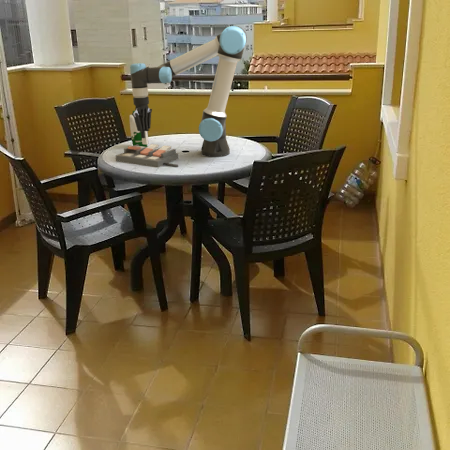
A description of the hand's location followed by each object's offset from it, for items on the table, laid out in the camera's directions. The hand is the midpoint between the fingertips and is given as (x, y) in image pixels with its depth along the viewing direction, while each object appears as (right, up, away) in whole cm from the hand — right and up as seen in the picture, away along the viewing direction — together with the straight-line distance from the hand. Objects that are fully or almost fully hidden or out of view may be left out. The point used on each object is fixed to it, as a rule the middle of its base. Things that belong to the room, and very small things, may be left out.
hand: (145, 143), depth 268 cm
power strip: (+4, -8, +2) cm, 9 cm away
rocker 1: (-5, -1, +8) cm, 10 cm away
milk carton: (-8, +2, +30) cm, 31 cm away
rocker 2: (+8, -4, 0) cm, 9 cm away
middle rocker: (+2, -3, +4) cm, 5 cm away
